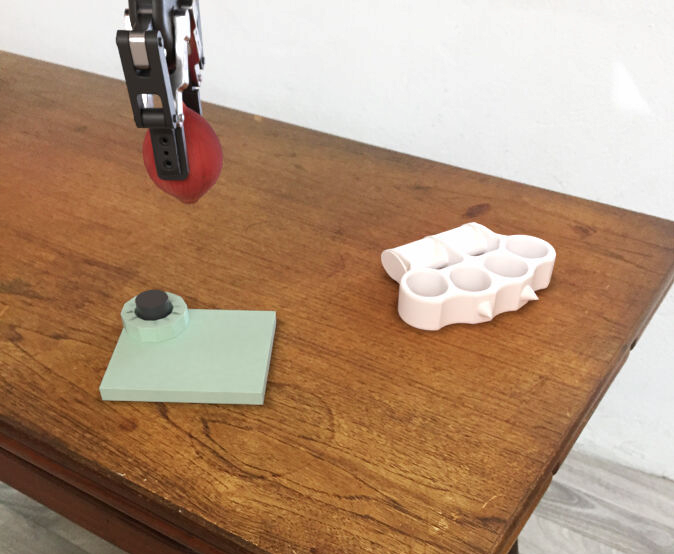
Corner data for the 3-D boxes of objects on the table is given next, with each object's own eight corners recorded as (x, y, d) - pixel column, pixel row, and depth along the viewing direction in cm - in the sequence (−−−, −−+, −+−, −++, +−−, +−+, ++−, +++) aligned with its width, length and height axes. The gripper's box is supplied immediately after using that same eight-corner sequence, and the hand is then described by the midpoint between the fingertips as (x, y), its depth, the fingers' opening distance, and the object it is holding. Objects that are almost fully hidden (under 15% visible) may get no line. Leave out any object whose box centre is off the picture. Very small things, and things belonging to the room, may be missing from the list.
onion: (145, 192, 59) (125, 86, 53) (216, 181, 60) (204, 76, 55) (160, 227, 55) (141, 116, 49) (236, 213, 57) (225, 104, 51)
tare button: (134, 321, 68) (131, 307, 67) (142, 302, 70) (139, 288, 69) (167, 322, 68) (164, 308, 67) (173, 303, 70) (171, 289, 69)
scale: (102, 400, 65) (94, 373, 63) (135, 316, 73) (129, 290, 71) (263, 404, 64) (260, 378, 62) (276, 320, 73) (275, 294, 71)
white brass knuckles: (487, 234, 85) (579, 296, 76) (354, 279, 78) (439, 353, 69) (492, 206, 83) (587, 267, 74) (355, 250, 76) (442, 323, 67)
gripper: (182, -102, 38) (218, 206, 50) (223, -144, 48) (245, 121, 60) (37, -104, 38) (107, 204, 50) (108, -145, 48) (153, 119, 60)
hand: (182, 157), depth 55 cm, fingers closed on onion, 6 cm apart
